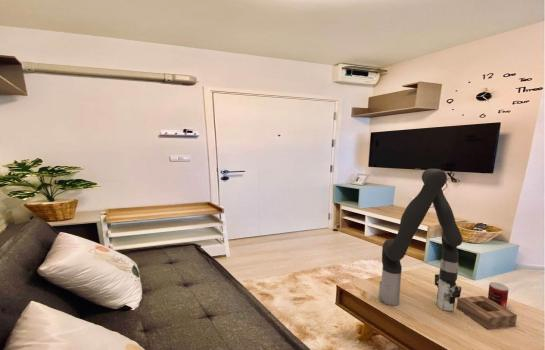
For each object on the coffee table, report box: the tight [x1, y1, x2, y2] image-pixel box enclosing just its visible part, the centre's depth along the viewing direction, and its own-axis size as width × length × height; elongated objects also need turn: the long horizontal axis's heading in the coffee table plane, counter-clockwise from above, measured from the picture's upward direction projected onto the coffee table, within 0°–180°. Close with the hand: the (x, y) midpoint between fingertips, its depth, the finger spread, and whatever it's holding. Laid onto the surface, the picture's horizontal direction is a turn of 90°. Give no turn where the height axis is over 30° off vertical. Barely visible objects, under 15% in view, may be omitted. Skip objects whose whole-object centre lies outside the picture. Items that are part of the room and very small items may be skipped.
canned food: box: [487, 281, 509, 309], centre depth 136 cm, size 8×8×11 cm
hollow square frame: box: [456, 295, 518, 330], centre depth 126 cm, size 16×16×6 cm
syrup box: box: [435, 279, 456, 312], centre depth 132 cm, size 6×6×14 cm
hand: (445, 299), depth 132 cm, fingers closed on syrup box, 6 cm apart
